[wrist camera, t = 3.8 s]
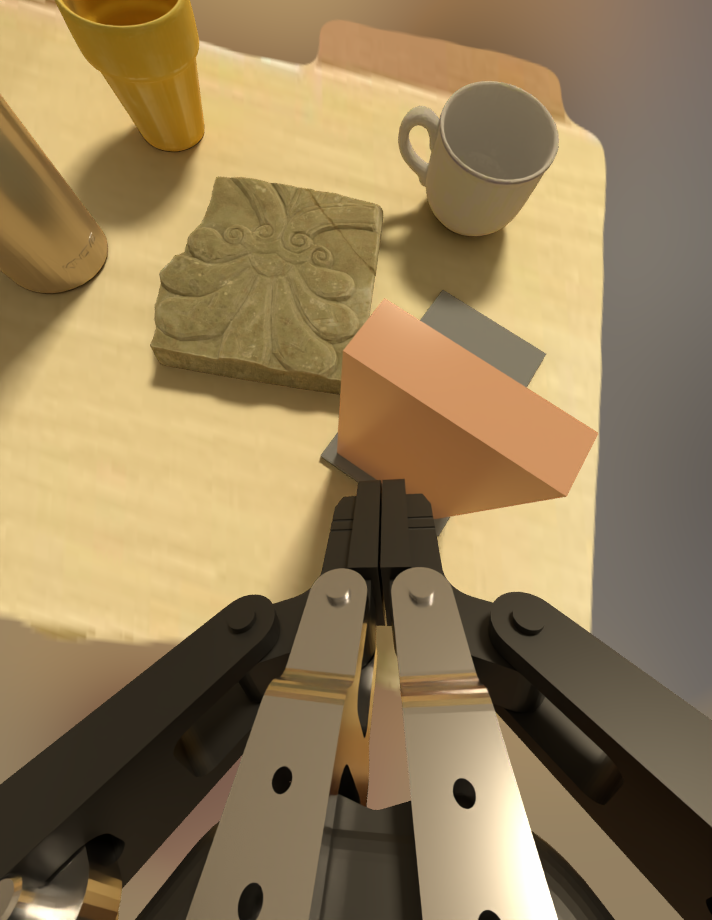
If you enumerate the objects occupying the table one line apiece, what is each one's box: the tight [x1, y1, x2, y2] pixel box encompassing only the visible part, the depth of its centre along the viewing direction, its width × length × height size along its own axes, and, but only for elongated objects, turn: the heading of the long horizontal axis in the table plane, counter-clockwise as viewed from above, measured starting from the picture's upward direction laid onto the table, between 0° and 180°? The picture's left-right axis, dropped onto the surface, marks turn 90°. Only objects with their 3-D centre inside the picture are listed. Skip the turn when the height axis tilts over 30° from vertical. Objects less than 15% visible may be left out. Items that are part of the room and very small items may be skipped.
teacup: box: [398, 81, 559, 236], centre depth 32 cm, size 14×11×8 cm
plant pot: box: [55, 0, 204, 151], centre depth 31 cm, size 10×10×10 cm
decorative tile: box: [150, 177, 383, 394], centre depth 31 cm, size 19×20×4 cm
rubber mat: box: [321, 290, 546, 536], centre depth 30 cm, size 12×21×1 cm, turn 146°
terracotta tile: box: [337, 298, 598, 519], centre depth 21 cm, size 10×3×16 cm, turn 56°
